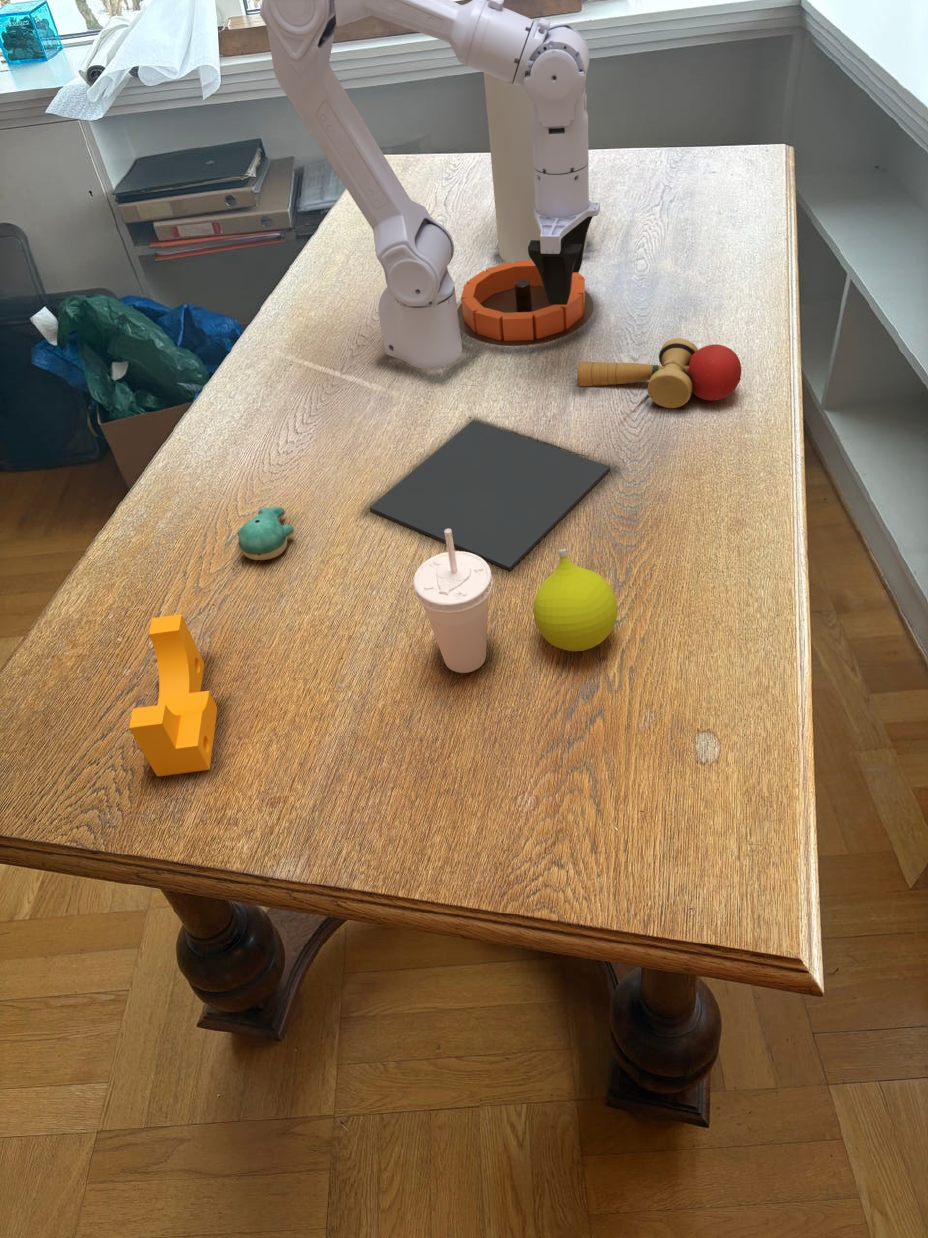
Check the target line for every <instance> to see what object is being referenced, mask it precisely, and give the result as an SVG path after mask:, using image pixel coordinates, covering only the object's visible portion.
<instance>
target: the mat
mask: <svg viewBox="0 0 928 1238" xmlns="http://www.w3.org/2000/svg"><path fill="white" fill-rule="evenodd" d="M610 471H611V467H610V466H609V465H606V464H603V463H600V462H598V461H594V460H592V459H589V458H586V457H583V456H580V455H578V454H574V453H571V452H568V451H565V450H562V449H560V448H556V447H553V446H550V445H547V444H545V443H542V442H538V441H536V440H533V439H530V438H527V437H524V436H522V435H518V434H515V433H513V432H510V431H507V430H504V429H501V428H498V427H495V426H492V425H489V424H486V423H484V422H481V421H477V420H475V419H472V420H471V421H470V422H469V423H468V424H466V425H465V426H464V427H463V428H462V429H461V430H459V431H458V432H457V433H456V434H454V436H452V437H451V438H450V439H448V441H446V442H445V443H444V444H443V445H441V446H440V447H439V448H438V449H436V451H435V452H433V453H432V454H431V455H430V456H429V457H428V458H426V459H425V460H424V461H423V462H422V463H420V464H419V465H418V466H416V467H415V468H414V469H413V470H412V471H411V472H410V473H408V474H407V475H406V476H405V477H404V478H402V480H400V481H399V482H398V483H397V484H395V485H394V486H393V487H392V488H391V489H390V490H388V491H386V493H385V494H384V495H383V496H381V497H380V498H378V500H377V501H375V502H374V503H373V504H372V505H370V506H369V510H370V512H372V513H374V514H376V515H379V516H381V517H383V518H385V519H388V520H390V521H393V522H395V523H397V524H399V525H402V526H405V527H406V528H408V529H412V530H414V531H416V532H418V533H421V534H423V535H425V536H428V537H430V538H432V539H435V540H437V541H439V542H442V543H444V544H446V538H445V532H444V531H445V530H446V529H451V531H452V537H453V543H454V549H458V550H459V551H462V552H469V553H472V554H475V555H477V556H479V557H481V558H482V559H483V560H485V561H486V562H488V563H490V564H492V565H495V566H497V567H500V568H502V569H505V570H507V571H509V572H511V571H512V570H513V569H514V568H515V567H516V566H517V565H518V564H519V563H520V562H521V561H522V560H523V559H524V558H525V557H526V556H527V555H528V554H529V553H530V552H531V551H532V550H533V549H534V548H535V547H536V546H537V545H538V544H539V542H540V541H542V540H543V539H544V538H545V537H546V535H548V533H550V531H552V530H553V529H554V527H556V526H557V524H558V523H560V521H561V520H563V518H565V516H566V515H568V513H569V512H571V510H572V509H573V508H575V506H576V505H577V504H578V503H580V501H581V500H582V499H583V498H584V497H585V496H586V495H587V494H588V493H589V492H590V491H591V490H592V489H593V488H594V487H595V486H596V485H597V484H598V483H599V482H600V481H601V480H602V479H603V478H605V476H606V475H607V474H608V473H609V472H610Z"/></svg>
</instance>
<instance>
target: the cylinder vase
mask: <svg viewBox="0 0 928 1238" xmlns="http://www.w3.org/2000/svg"><path fill="white" fill-rule="evenodd" d="M483 79H484V90H485V103H486V114H487V126H488V127H487V128H488V137H489V139H488V141H489V149H490V151H489V152H490V161H491V163H490V164H491V173H492V174H491V175H492V185H493V197H494V198H493V199H494V209H495V210H494V211H495V222H496V223H495V224H496V232H497V233H496V234H497V235H496V236H497V246H498V247H497V248H498V255H499V257H500V259H501V260H503V261H504V263H508V262H512V263H513V264H514V261H528V260H531V258H530V257H529V254H528V246H529V244H530V242H531V240H540V234H541V233H540V230H539V227H538V224H537V222H536V219H535V215H534V207H535V206H536V200H535V181H534V159H533V139H532V118H533V106H532V100H531V99H530V97H529V96H528V94H527V92H526V89H525V87H518V86H515V85H513V84H510V83H508V82H506V81H503V80H501V79H498V78H496V77H494V76H491V75H489V74H486V73H484V72H483ZM513 83H514V82H513ZM587 239H588V237H587V235H586V240H585V246H584V252H586V249H587V243H588V241H587Z"/></svg>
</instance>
